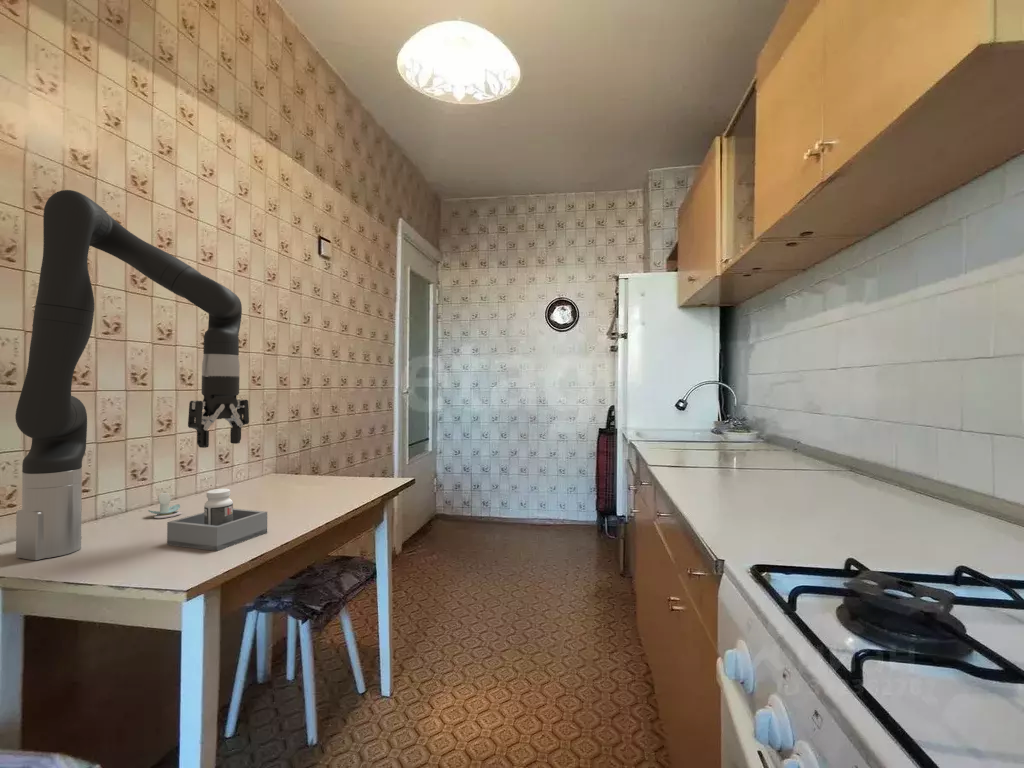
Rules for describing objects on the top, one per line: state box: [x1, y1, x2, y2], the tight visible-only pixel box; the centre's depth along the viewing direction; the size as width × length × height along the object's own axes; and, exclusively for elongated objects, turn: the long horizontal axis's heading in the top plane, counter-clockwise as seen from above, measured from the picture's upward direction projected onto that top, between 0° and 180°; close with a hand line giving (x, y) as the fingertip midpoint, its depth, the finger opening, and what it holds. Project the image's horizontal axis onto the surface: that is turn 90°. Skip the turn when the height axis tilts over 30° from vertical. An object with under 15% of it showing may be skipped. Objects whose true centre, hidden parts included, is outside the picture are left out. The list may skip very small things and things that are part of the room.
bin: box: [166, 508, 268, 552], centre depth 115 cm, size 14×14×5 cm
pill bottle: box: [203, 488, 234, 526], centre depth 115 cm, size 6×6×10 cm
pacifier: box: [147, 492, 182, 519], centre depth 135 cm, size 7×6×6 cm
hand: (219, 445), depth 115 cm, fingers open, 8 cm apart
